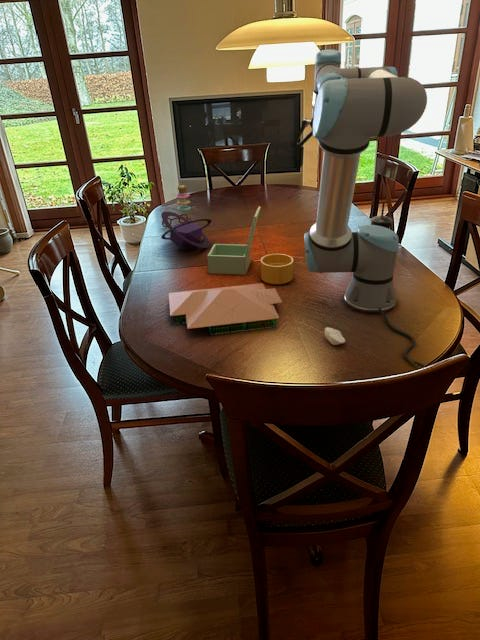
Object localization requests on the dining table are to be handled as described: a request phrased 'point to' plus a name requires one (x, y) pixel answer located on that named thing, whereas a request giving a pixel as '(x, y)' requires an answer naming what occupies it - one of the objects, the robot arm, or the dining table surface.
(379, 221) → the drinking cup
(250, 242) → the chest lid
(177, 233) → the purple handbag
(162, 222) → the glasses
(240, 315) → the house
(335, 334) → the white rock
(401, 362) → the dining table surface
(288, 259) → the bowl
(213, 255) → the chest
